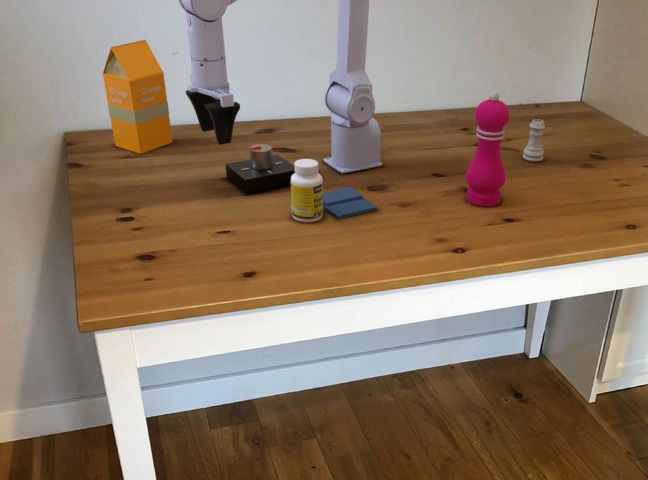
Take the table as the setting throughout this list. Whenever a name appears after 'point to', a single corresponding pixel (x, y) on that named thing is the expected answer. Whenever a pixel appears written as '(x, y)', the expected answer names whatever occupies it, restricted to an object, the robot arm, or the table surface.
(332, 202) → the dish cloth
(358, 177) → the table surface
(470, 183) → the pepper mill
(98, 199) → the table surface
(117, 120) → the orange juice
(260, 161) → the knob
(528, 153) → the rook chess piece
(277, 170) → the panel
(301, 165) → the supplement bottle
